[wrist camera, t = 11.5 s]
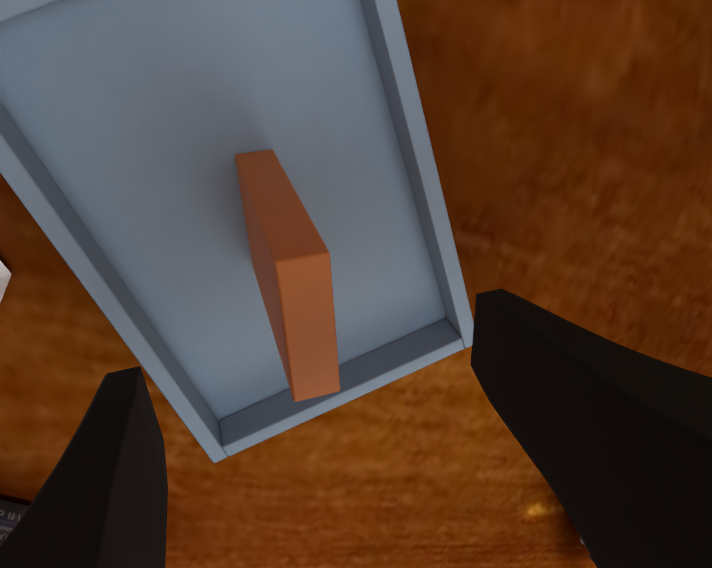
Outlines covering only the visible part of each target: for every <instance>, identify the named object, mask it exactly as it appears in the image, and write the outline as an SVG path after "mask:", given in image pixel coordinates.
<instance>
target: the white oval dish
mask: <svg viewBox="0 0 712 568" xmlns="http://www.w3.org/2000/svg"><path fill="white" fill-rule="evenodd" d="M10 277H11V273H10V272H9V270H8V269H7V268H6V267H5V266H4V264H3V263H2V262H1V261H0V302H1V300H2V297H3V295H4V292H5V290H6V287H7V285H8V282H9V280H10Z"/></svg>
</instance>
